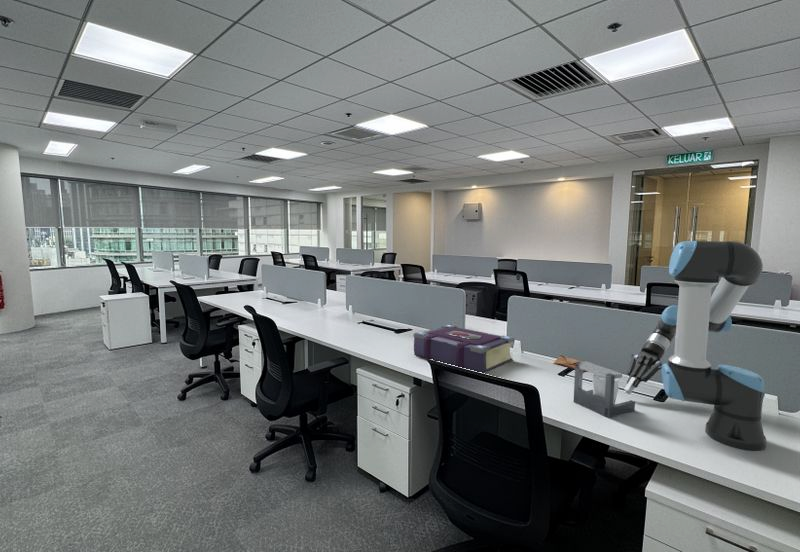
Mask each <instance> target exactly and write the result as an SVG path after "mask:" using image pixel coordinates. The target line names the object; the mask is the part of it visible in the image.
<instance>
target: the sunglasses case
mask: <svg viewBox="0 0 800 552" xmlns="http://www.w3.org/2000/svg"><path fill="white" fill-rule="evenodd" d="M579 362H584V361H582V360H579V359H576V358H572V357H567V356H565V355H562V354H561V355H559V356H558V357H557V358H556V360H555V361H554V362H553V363H552V365H557V366H559V367H560V366H561V367H563V368H566V367H567V369H570V368H571V369H570V370H573V369H574V371H575V363H579ZM586 372H588V371H585V370H583V374H584V373H586Z"/></svg>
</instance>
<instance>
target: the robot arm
mask: <svg viewBox="0 0 800 552" xmlns="http://www.w3.org/2000/svg"><path fill="white" fill-rule="evenodd" d="M668 264H669V265H668V267H669V268H668V272H669V275H670V276H673V277H674V282H675V283H676V284H677V285H678V286H679V289H678V302H677V305H670V306H668V307H666V308H665V309H664V310H663V311H662V313H661V314H660V315H661V316H660V318H659V320H658V322H657V324H656V326H655V328H654V329H653V330H652V332H651V334H650V335H649V337H648V338H647V340H646V341H645V343H644V344H643V346H642V347H641V350H640V352H638V353H637V354H630V361H629V364H628V367H627V370H626V374H627V376H629V377H628V379H627V381H626V385H625V387H624V388H623V390H624V391H625V393H626V394H629V395H631V394H632V393H633V391H634V389H635V388H638V386H639V384H640V383H641V382H644V383H647V382H648V381H649V380H650V379H651V378H652V377H653V376H655V374H656V373H658V371H659V370H661V379H662V380H661V381H662V385H663V390H664V391H665V394H666V396H667V397H668V398H670V399H672V400H679V401H682V402H689V403H690V402H691V403H696V404H704V405H711V406H713V411H712V413H711V415H710V416H709V419H707V422H706V424H705V428H704V430H705V431H704V432H705V434H706V435H707V436H709V437H710V438H711V439H713V440H715V441H717V442H720V443H722V444H724V445H728V446H731V447H734V448H738V449H742V450H746V451H747V450H748V451H762V450H764V449H766V447H767V437H766V436H765V434H764V430H763V429H764V428H763V425H762V411H763V403H764V402H763V401H764V393H765V381H764V380H765V379H764V378H763V377H762V376H761V375H759V374H758V373H756V372H753V371H751V370H749V369H746V368H742V367H738V366H733V365H729V364H718V365H717V367H716V369H714V368H713V369H712V364H711V362H709V361H708V360H707V349H708V338H709V332H710V333H711V332H712V333H728V332H729V331H730V330H731V328H732V323H733V322H732V321H733V320H732V317H731V313H732V312H733V311H734V309H735V307H736V306H737V305H738V303H739V302H740V300H741V299H742V298H743V296H744V294H745V293H746V292H747V290H748V289H749V287H750V286H753V285H755V284H756V283H757V282H758V281H759V279H760V278H761V276H762V274H763V270H764V269H763V267H764V266H763V261H762V258H761V257H760V255H759V253H758V252H757V251H756V250H755V249H754V248H753V247H751V246H750V245H748V244H746V243H743V242H739V241H733V240H732V241H731V240H729V241H723V240H722V241H720V240H719V241H716V240H715V241H714V240H713V241H712V240H709V241H708V240H707V241H705V240H687V241H679V242H678V243H677V244H676V245H675V246H674V247H673V249H672V253H671V255H670V260H669V263H668ZM719 279H720V280H719ZM715 286H716V287H715ZM714 287H715V289H714V291H713V293H712V289H713V288H714ZM674 339H675V341H674V352H673V355H671V356H669V357H668V362H667V363H662V362H661V359H662V357H664V354H665V352H666V351H667V349H668V348H669V346H670V344H672V343H671V342H672V341H673V340H674Z"/></svg>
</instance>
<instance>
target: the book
mask: <svg viewBox="0 0 800 552" xmlns="http://www.w3.org/2000/svg"><path fill="white" fill-rule="evenodd" d="M413 338H414V339H413V353H414V356H415V355H416V357H418V358H419V357H420V358H422V359H425V360H428V359H433V360H435V361H440V362H443V363H447V364H451V365H455V366H458V367H462V368H466V369H470V370H474V371H477V372H482V373H483V374H486V373H488V372H490V371H492V370H495V369H496V368H499V367H501V366H503V365H506V364H508V363H510V362H512V361H513V360H514V359H513V358H512V356H511V344H512V343H513V342H515V338H514V337H512V336H507V335H504V334H503V335H499V334H492V333H488V332H483V331H478V330H473V329H468V328H463V327H458V326H456V325H451V324H446V325H442V326H440V327H437V328H436V329H429V330H424V331H421V330H420V331H417V332H414V333H413ZM511 360H512V361H511ZM435 361H434V362H435ZM509 361H510V362H509ZM507 362H508V363H507ZM505 363H506V364H505ZM485 372H486V373H485Z"/></svg>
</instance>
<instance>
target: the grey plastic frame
mask: <svg viewBox="0 0 800 552" xmlns="http://www.w3.org/2000/svg"><path fill="white" fill-rule="evenodd" d="M583 370H585V371H587V372H588V373H591V374H593V375H594V374H596V375H599V376H602V377H605V378H606V386H605V398H602V397H600V396H597V395H595V394H593V389H589V390H585V389H583V377H584V376H583V374H584V373H583ZM617 378H618V379H621V378H623V373H622V372H618V371H616V370H614V369H609V368H607V367H604V366H601V365H598V364H595V363H592V362H590V361H583V362H579V363H575V370H574V384H573V385H574V387H573V401H572V402H573V403H575V404H578V406H581V407H584V408H586V409H588V410H590V411H592V412H594V413H596V414H599V415H601V416H603V417H605V418H607V419H611V418H613V417H617V416H620V415H625V414H627V413H630V412H635V407H636V401H634V400H627V401H624V402H620V403H615V405H613V398H614V382H615V379H617Z"/></svg>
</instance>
